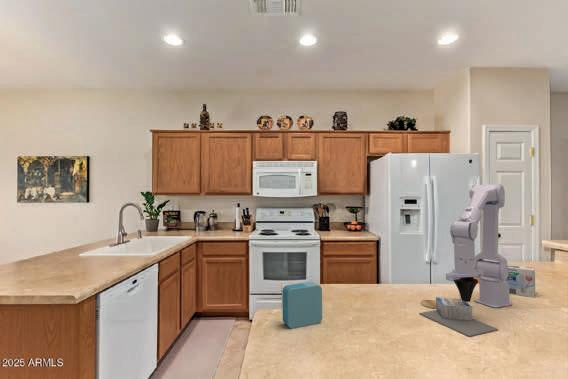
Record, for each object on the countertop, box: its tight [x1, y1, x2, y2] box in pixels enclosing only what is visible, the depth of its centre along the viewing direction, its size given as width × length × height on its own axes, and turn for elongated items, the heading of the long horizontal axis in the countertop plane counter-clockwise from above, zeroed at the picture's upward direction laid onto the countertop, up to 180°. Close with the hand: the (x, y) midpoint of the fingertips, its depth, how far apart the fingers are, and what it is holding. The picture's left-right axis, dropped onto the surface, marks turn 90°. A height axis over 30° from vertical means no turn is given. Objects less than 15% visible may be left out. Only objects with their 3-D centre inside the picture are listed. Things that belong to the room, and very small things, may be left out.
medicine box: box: [435, 296, 473, 320], centre depth 98 cm, size 8×4×9 cm
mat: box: [418, 309, 499, 338], centre depth 93 cm, size 12×18×1 cm, turn 21°
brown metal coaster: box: [420, 299, 437, 310], centre depth 108 cm, size 8×8×1 cm
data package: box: [281, 281, 323, 329], centre depth 93 cm, size 12×4×12 cm, turn 114°
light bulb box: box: [505, 264, 536, 299], centre depth 121 cm, size 11×7×11 cm, turn 49°
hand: (465, 300), depth 95 cm, fingers closed
